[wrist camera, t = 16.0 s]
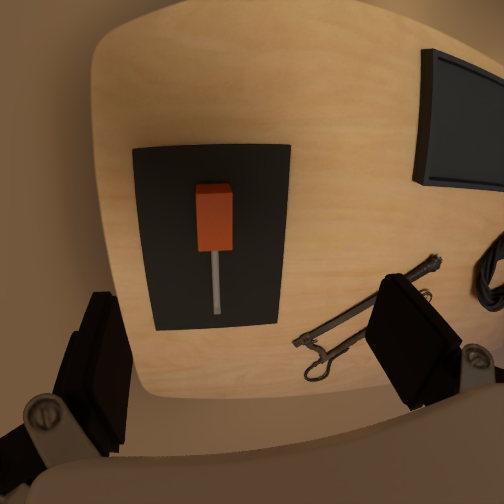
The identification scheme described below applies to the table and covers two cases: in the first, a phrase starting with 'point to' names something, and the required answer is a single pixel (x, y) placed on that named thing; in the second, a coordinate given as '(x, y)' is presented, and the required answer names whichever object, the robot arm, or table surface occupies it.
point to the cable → (487, 267)
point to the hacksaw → (307, 338)
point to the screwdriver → (214, 227)
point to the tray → (459, 125)
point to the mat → (185, 233)
